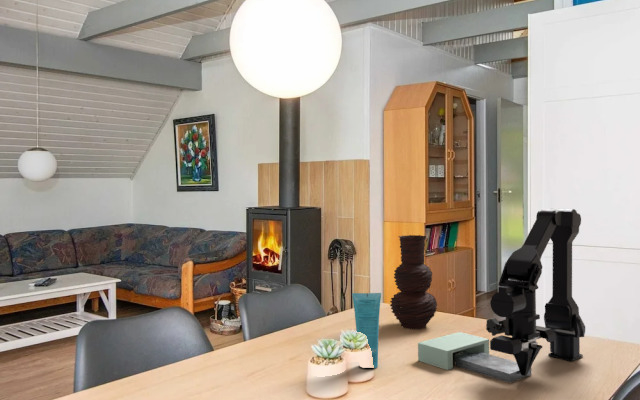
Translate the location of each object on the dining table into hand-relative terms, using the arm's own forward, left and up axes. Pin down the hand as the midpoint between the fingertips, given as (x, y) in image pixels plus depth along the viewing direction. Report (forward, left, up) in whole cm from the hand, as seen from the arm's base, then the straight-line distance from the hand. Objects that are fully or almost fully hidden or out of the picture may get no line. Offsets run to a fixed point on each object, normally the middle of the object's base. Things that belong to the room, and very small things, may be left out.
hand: (523, 375), depth 134 cm
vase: (+52, -17, -1) cm, 55 cm away
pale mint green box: (+21, 0, -1) cm, 21 cm away
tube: (+31, +22, -1) cm, 38 cm away
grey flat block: (+9, 0, -1) cm, 9 cm away
